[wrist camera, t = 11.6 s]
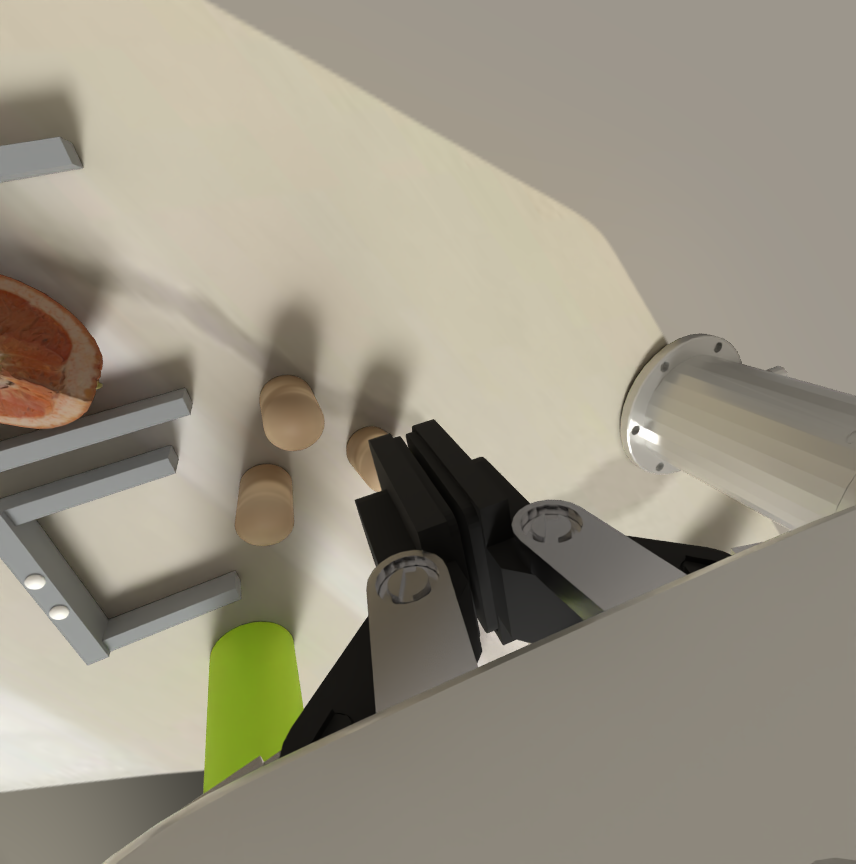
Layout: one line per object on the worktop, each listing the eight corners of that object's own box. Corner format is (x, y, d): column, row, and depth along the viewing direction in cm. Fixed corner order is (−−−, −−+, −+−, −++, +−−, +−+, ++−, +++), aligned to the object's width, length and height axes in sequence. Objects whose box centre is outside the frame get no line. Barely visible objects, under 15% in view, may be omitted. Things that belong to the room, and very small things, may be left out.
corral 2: (171, 445, 28) (166, 462, 26) (240, 581, 33) (241, 604, 31) (-9, 501, 25) (-29, 524, 23) (96, 638, 30) (87, 666, 28)
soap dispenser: (185, 639, 33) (137, 1091, 16) (288, 612, 35) (342, 982, 18) (203, 697, 35) (177, 1143, 18) (298, 667, 38) (354, 1041, 20)
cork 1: (304, 368, 29) (314, 388, 25) (319, 415, 30) (331, 439, 27) (251, 384, 28) (254, 406, 25) (270, 431, 29) (275, 458, 26)
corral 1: (71, 142, 21) (55, 134, 19) (192, 403, 27) (189, 418, 25) (-244, 193, 18) (-300, 190, 16) (-32, 470, 24) (-55, 492, 22)
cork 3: (341, 434, 31) (357, 452, 28) (386, 420, 32) (407, 435, 29) (352, 477, 32) (369, 500, 29) (396, 462, 33) (417, 482, 30)
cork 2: (238, 465, 29) (232, 502, 26) (292, 462, 30) (293, 498, 27) (241, 507, 31) (236, 548, 27) (292, 504, 32) (294, 543, 28)
